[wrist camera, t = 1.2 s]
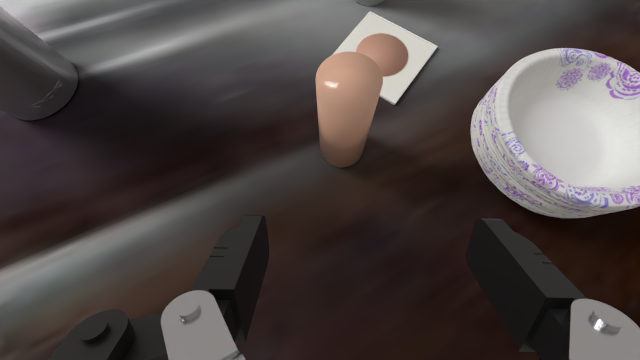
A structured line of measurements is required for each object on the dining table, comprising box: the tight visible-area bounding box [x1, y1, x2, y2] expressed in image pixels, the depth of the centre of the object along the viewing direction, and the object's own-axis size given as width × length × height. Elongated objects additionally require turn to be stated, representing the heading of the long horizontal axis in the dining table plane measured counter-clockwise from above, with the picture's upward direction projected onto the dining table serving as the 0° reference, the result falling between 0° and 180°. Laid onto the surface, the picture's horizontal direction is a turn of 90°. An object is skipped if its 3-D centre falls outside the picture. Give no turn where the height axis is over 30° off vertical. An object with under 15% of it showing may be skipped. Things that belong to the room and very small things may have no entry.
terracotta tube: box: [316, 52, 383, 168], centre depth 26 cm, size 5×5×12 cm
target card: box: [333, 11, 438, 105], centre depth 35 cm, size 10×10×1 cm
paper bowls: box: [471, 48, 640, 218], centre depth 27 cm, size 15×15×8 cm
